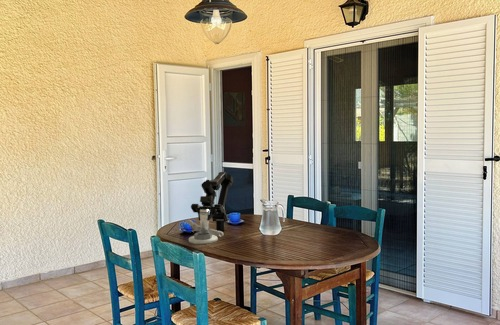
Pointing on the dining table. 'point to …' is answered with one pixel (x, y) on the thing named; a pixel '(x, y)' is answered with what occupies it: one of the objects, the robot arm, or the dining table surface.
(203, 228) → the piston
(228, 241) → the dining table surface
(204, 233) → the white and grey disc
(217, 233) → the wrench
